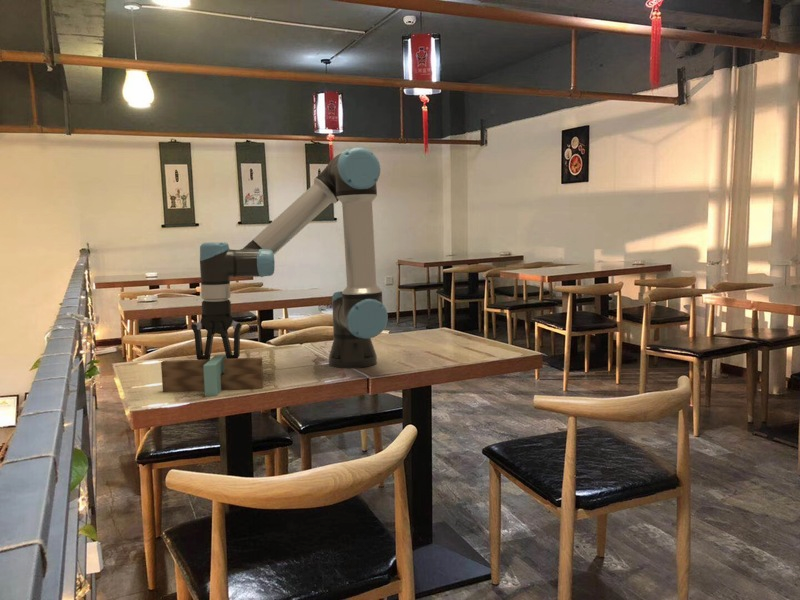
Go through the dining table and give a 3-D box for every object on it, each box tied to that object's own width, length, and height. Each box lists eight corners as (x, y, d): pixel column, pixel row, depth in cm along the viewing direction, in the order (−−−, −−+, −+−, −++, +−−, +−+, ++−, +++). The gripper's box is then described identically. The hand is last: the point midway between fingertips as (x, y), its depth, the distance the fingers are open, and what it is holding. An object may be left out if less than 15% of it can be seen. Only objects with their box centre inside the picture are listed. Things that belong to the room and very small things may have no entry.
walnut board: (263, 386, 168) (262, 357, 167) (262, 388, 166) (261, 358, 165) (165, 390, 166) (163, 360, 165) (162, 392, 164) (160, 362, 163)
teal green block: (228, 382, 173) (226, 354, 172) (216, 395, 159) (215, 365, 158) (217, 383, 173) (215, 354, 172) (205, 396, 159) (203, 365, 158)
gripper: (249, 297, 172) (252, 380, 175) (188, 298, 171) (191, 381, 174) (245, 300, 165) (248, 387, 167) (180, 301, 164) (184, 388, 166)
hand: (219, 384), depth 170 cm, fingers open, 4 cm apart
